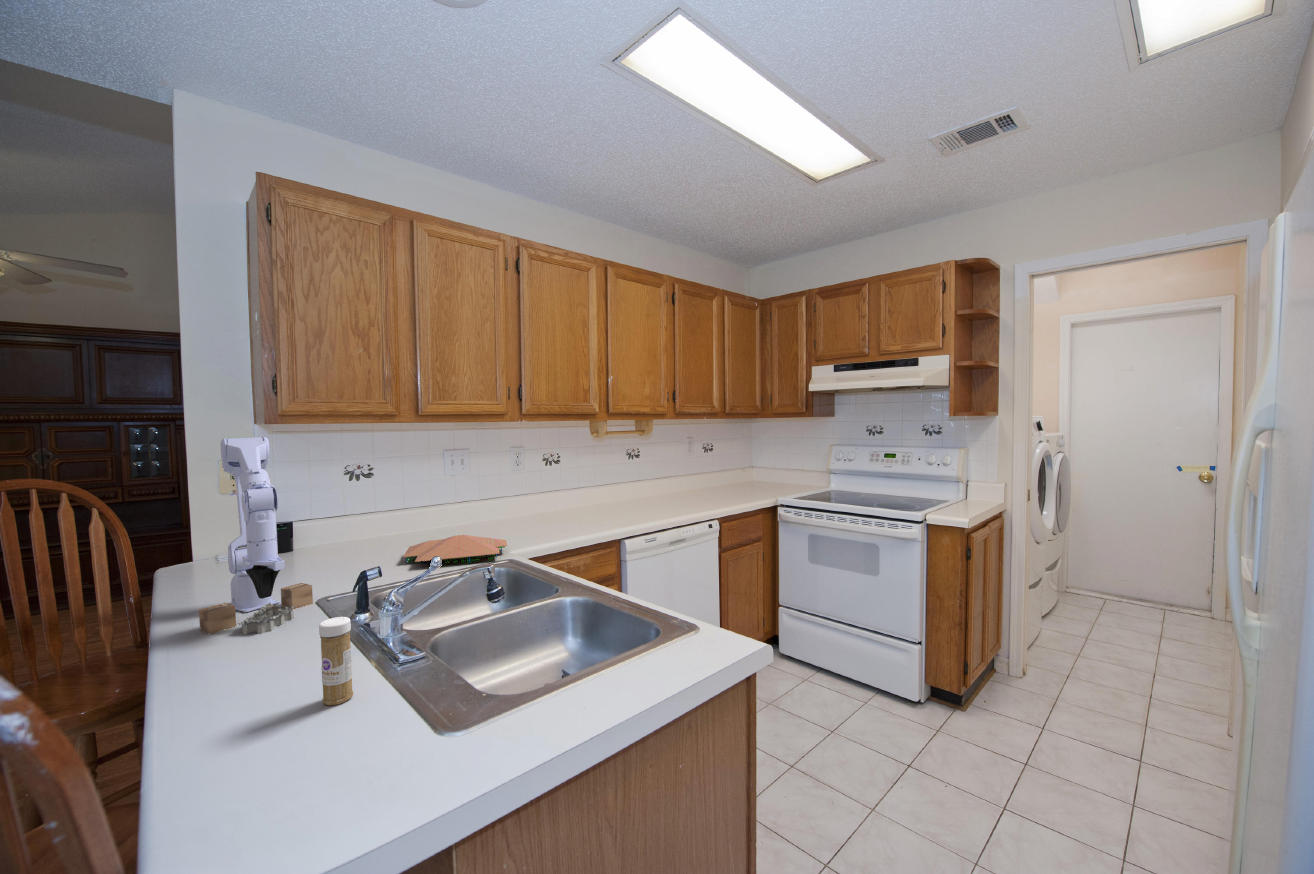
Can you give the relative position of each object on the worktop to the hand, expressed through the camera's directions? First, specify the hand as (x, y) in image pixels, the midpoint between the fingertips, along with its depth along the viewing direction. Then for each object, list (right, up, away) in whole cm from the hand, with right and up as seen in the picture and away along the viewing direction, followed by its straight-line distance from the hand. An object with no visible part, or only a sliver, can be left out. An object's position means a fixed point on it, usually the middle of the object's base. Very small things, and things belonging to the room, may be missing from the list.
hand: (265, 597), depth 126 cm
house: (+23, -5, +59) cm, 63 cm away
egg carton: (+1, -7, 0) cm, 7 cm away
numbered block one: (-2, -6, +14) cm, 15 cm away
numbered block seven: (-10, -7, -1) cm, 12 cm away
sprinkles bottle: (+38, -7, -35) cm, 52 cm away
